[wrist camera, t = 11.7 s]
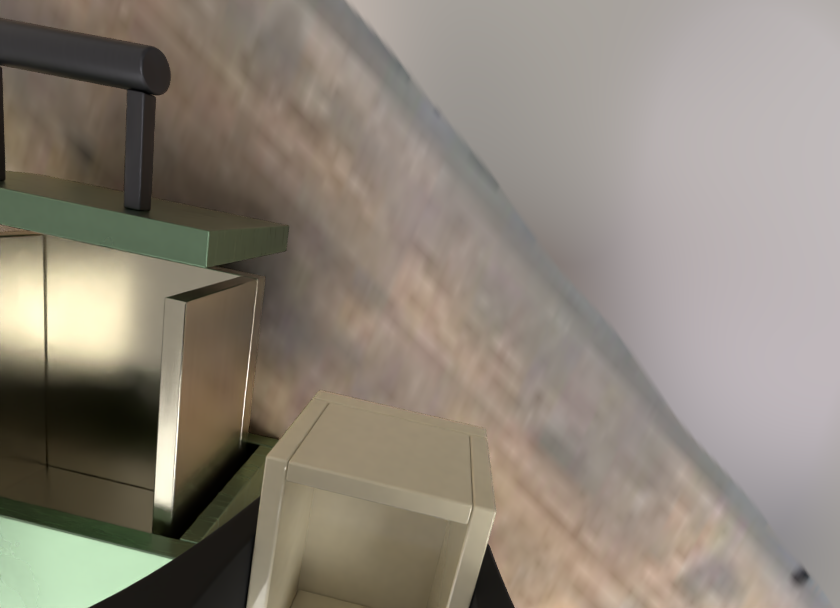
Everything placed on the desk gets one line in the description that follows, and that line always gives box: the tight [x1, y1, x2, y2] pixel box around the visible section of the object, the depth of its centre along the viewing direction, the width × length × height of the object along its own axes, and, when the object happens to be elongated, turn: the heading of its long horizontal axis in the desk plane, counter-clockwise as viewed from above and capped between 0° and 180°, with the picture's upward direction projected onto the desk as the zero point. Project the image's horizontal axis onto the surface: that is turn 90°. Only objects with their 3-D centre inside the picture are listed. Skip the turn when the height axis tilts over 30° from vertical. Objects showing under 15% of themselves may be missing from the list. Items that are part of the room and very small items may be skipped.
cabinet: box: [0, 433, 279, 608], centre depth 21 cm, size 17×14×8 cm
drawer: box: [0, 18, 289, 540], centre depth 17 cm, size 21×12×6 cm, turn 169°
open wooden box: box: [246, 390, 496, 608], centre depth 11 cm, size 5×7×4 cm
